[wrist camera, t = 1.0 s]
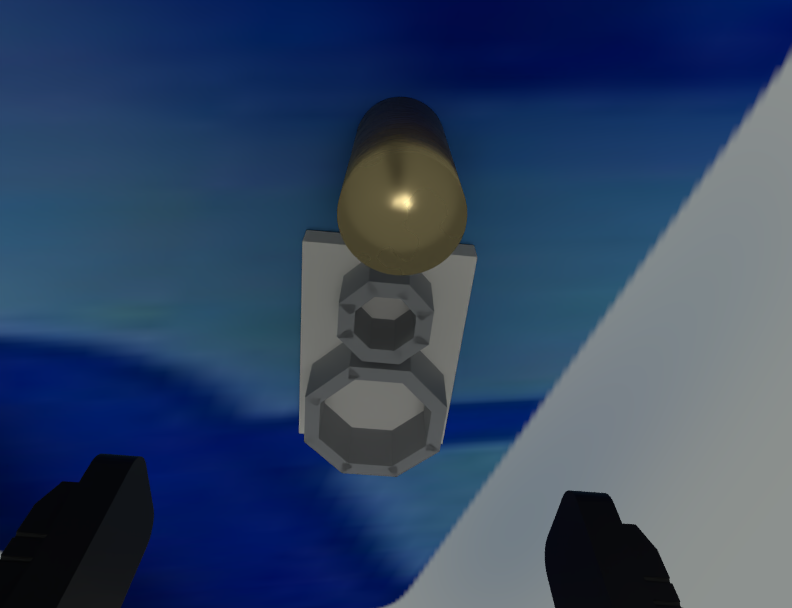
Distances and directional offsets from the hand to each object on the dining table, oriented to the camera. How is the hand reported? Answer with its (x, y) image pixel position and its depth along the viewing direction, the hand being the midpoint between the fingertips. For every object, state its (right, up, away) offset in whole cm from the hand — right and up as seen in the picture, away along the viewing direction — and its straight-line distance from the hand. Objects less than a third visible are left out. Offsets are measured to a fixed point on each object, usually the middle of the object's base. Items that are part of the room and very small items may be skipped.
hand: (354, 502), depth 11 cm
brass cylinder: (+1, +12, +17) cm, 21 cm away
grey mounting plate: (0, +2, +23) cm, 23 cm away
